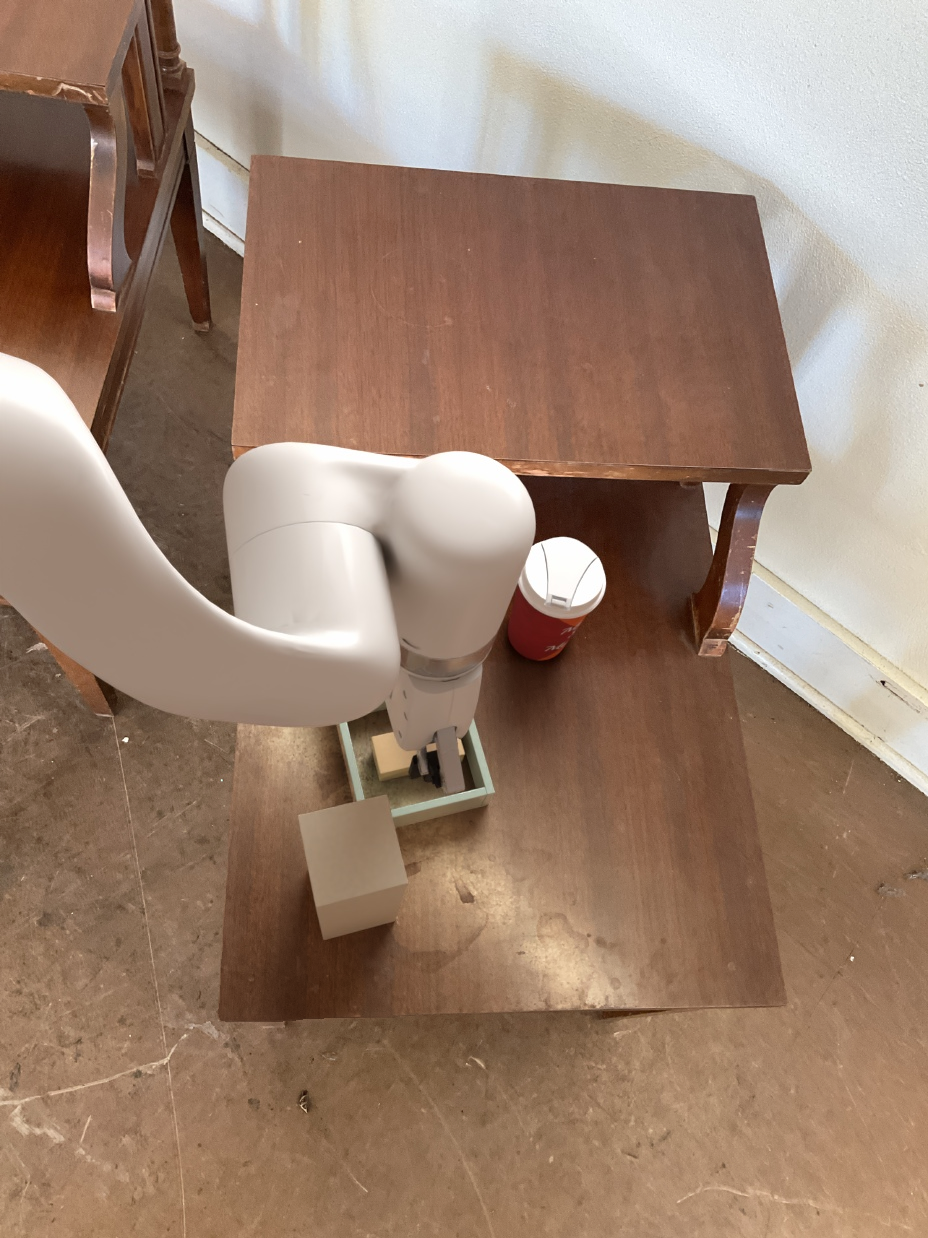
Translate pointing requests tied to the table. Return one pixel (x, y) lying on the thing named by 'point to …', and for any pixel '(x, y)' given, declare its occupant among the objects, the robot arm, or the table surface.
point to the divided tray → (435, 806)
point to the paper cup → (554, 596)
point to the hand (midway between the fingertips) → (413, 711)
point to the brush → (396, 756)
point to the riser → (354, 865)
